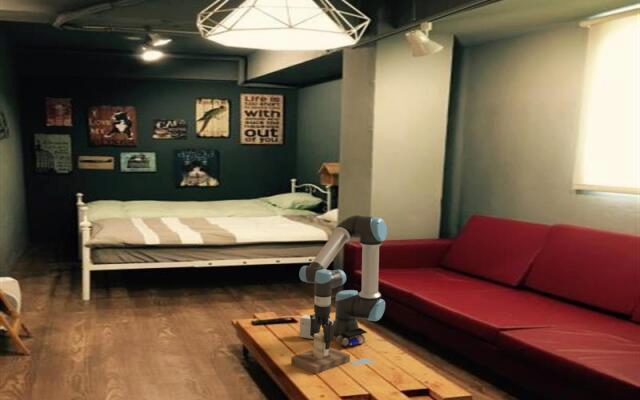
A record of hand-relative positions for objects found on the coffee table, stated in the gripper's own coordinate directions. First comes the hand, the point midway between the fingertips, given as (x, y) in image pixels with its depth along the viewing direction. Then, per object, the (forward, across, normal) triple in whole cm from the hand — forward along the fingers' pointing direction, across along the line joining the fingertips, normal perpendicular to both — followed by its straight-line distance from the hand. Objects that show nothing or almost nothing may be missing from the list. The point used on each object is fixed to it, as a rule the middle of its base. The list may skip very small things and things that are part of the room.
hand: (321, 353), depth 264 cm
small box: (+5, -30, +22) cm, 38 cm away
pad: (+5, +14, +15) cm, 21 cm away
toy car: (+3, -8, +21) cm, 23 cm away
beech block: (+5, 0, 0) cm, 5 cm away
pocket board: (+5, 0, 0) cm, 5 cm away
